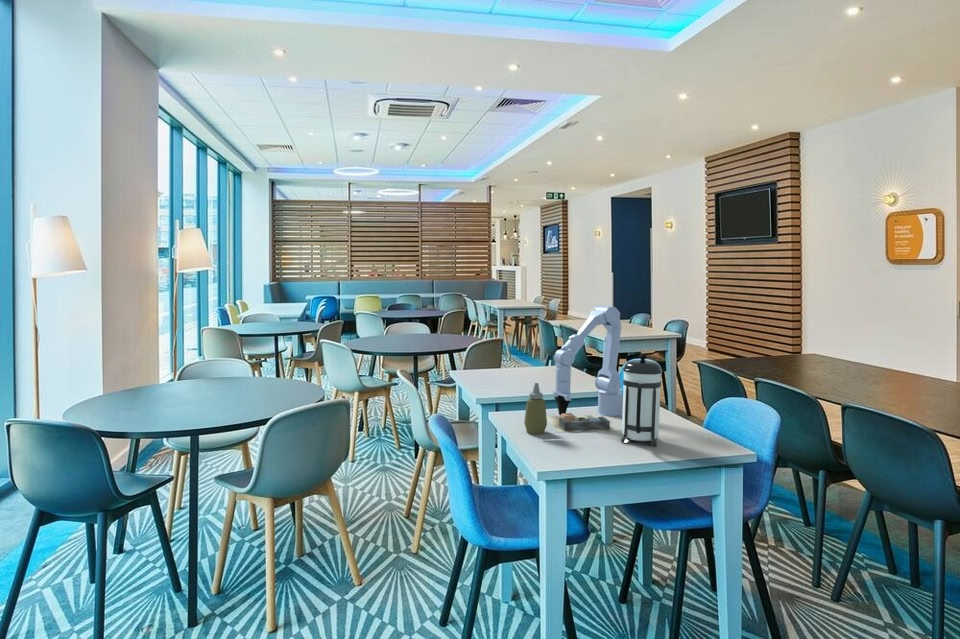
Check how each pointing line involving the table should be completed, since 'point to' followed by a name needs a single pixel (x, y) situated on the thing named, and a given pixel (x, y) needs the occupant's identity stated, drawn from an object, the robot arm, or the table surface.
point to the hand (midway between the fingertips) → (562, 415)
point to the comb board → (580, 424)
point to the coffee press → (641, 400)
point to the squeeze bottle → (535, 412)
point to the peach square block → (568, 416)
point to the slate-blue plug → (593, 419)
